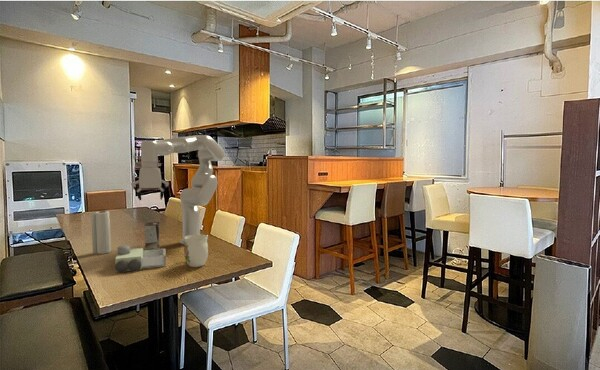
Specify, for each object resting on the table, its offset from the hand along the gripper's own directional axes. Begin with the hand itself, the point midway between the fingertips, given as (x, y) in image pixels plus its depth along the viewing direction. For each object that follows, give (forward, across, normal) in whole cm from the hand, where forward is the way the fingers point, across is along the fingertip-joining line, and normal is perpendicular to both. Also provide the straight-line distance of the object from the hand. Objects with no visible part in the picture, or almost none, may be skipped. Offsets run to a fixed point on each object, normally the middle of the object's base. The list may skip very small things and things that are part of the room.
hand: (150, 199), depth 167 cm
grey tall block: (+28, +24, -12) cm, 39 cm away
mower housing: (+28, +8, +16) cm, 33 cm away
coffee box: (+28, 0, 0) cm, 29 cm away
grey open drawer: (+28, -2, +15) cm, 32 cm away
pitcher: (+28, -20, +23) cm, 42 cm away
